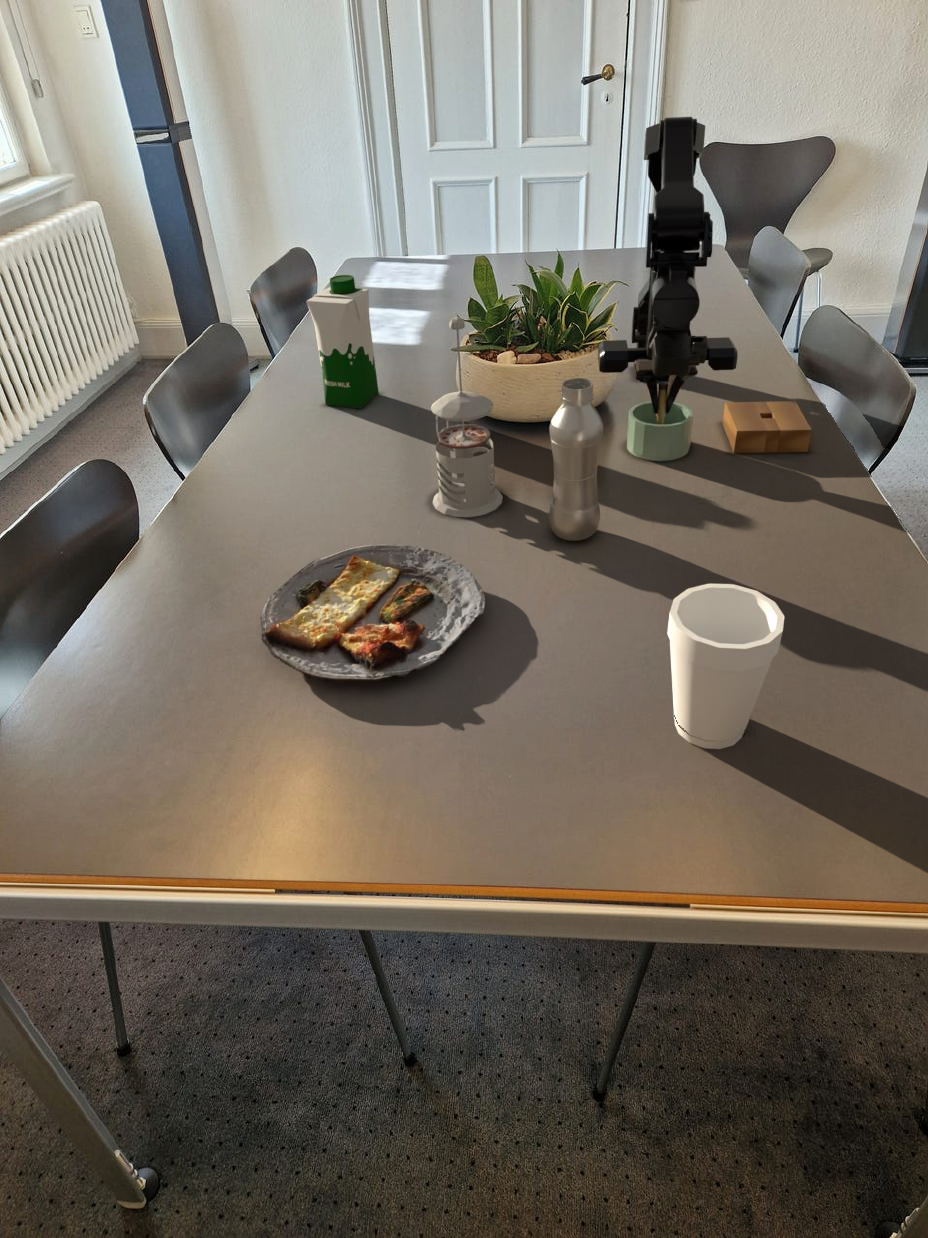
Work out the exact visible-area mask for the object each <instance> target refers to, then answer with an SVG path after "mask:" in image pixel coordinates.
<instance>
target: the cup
mask: <svg viewBox="0 0 928 1238" xmlns="http://www.w3.org/2000/svg"><path fill="white" fill-rule="evenodd" d="M627 416H628V418H627V430H626V431H627V433H626V449H627V451H628V453H630V454H631V455H633V456H634V457H636V458H639V459H642V460H646V461H651V462H667V461H675V460H677V459H680V458H683V457H684V456H686V455H687V454H688V453H689V451H690V447H691V444H692V443H691V441H692V433H693V424H694V417H695V416H694V412H693V410H692V409H691V408H690V407H688V406H687V405H685V404H682V403H679V402H676V401H674V402H673V405H672V407H671V409H670V411H669V413H666V414H665V417H664V424H661V425H657V416H656V414H655V413H654V410H653V406H652V401H651V400H649V401H644V402H640V403H637V404H635V405H633V406H632V407H631V408H630V409H629V410H628V415H627Z"/></svg>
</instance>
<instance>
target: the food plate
mask: <svg viewBox="0 0 928 1238" xmlns="http://www.w3.org/2000/svg"><path fill="white" fill-rule="evenodd" d="M485 608H486V596H485V593H484V591H483V587H482V586H481V584H480V583H479V582H478V580H477V579H476V578H475V577H474V575H473V574H472V572H471V571H470V569H468V568H467V567H466V566H464V565H463V564H462V563H460V562H459V561H456V560H455V559H454V558H452V556H451V555H450V556H447V555H446V554H443V553H441V552H439V551H435V550H431V549H425V548H422V547H418V546H415V545H412V544H384V543H383V544H382V543H381V544H380V543H379V544H368V545H362V546H353V547H351V548H347V549H343V550H339V551H336V552H335V553H333V554H330V555H328V556H324V557H321V558H318V559H315V560H312V561H311V562H309V563H308V564H307V565H305V566H304V567H302V568H301V569H300V570H299V571H297V572H296V573H295V574H293V575H292V576H291V578H289V579H288V580H287V581H286V582H284V583H283V584H282V586H280V587H279V588H278V589H277V590H275V591H274V592H273V595H272V596H269V598H268V599H267V601H266V602H265V603H264V605H263V607H262V610H261V614H260V627H261V641H262V643H263V644H264V645H265V646H266V648H267V649H268V651H269V653H270V655H271V656H273V658H275V659H277V660H279V661H280V662H281V663H282V664H284V665H286V666H288V667H289V668H292V669H293V670H294V671H297V672H300V673H301V674H303V675H305V676H306V677H308V678H312V679H316V680H319V681H320V680H321V681H325V682H338V683H339V682H342V683H343V682H362V683H370V684H373V683H376V682H379V681H381V682H384V681H388V680H392V682H395V678H394V677H393V676H395V677H396V678H402V677H403V678H404V677H406V676H407V675H408V674H409V673H410V672H411V671H413V670H417V671H418V672H419V671H422V670H424V669H426V668H427V667H429V666H430V665H432V664H433V663H434V662H436V661H437V660H438V659H441V657H440V656H442V655H443V654H444V653H445V652H446V651H447V650H449V648H450V647H452V646H453V645H454V643H456V642H457V641H458V640H459V639H460V637H461V635H462V634H463V633H464V632H465V631H466V630H467V629H468V628H470V627H471V625H472V623H473V622H474V621H475V619H476V618H477V617H479V616H480V615H483V614H484V612H485Z"/></svg>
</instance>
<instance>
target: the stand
mask: <svg viewBox="0 0 928 1238" xmlns="http://www.w3.org/2000/svg"><path fill="white" fill-rule="evenodd" d="M722 426H723V428H724V432H725V434H726V436H727V439H728V442H729V445H730V447H731V450H732V453H733V454H759V453H760V454H763V453H808V450H809V445H810V441H811V436H812V430H813V429H812V428H811V426H810V424H809V423H808V421H807V419H806V417H805V416H804V414H803V412H802V411H801V409H800V407H799V405H798V403H797V401H796V400H791V401H790V400H788V401H785V400H784V401H737V402H736V401H735V402H733V401H731V402H730V401H729V402H727V401H726V402H724V409H723V417H722Z"/></svg>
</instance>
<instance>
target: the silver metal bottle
mask: <svg viewBox="0 0 928 1238" xmlns="http://www.w3.org/2000/svg"><path fill="white" fill-rule="evenodd" d="M594 397H595V395H594V382H593V381H592V380H591V379H589V378H585V377H572V378H568V379H565V380H564V381H563V382H562V383H561V393H560V401H561V402H562V404H561V405H560V407H559V408H558V409H557V410H556V412H555V413H554V415H553V416H552V418H551V420H550V424H549V439H550V444H551V451H552V464H553V487H552V497H551V502H550V506H549V512H548V520H549V524H550V525H549V527H550V529H551V531H552V532H553V534H554V535H555V536H557V537H558V538H560V539H562V540H565V541H571V542H572V541H573V542H574V541H575V542H576V541H583V540H586V539H588V538H591V536H593V535H594V533H595V532H596V531H597V530H598V528H599V525H600V520H601V509H600V502H599V498H598V483H597V482H598V480H597V477H598V476H597V475H598V466H599V456H600V451H601V444H602V439H603V433H604V423H603V420H602V417H601V415H600V414H599V411H598V410H597V409H596V407H595V406H594V404H592V402H593V401H594V400H595V399H594Z"/></svg>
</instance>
